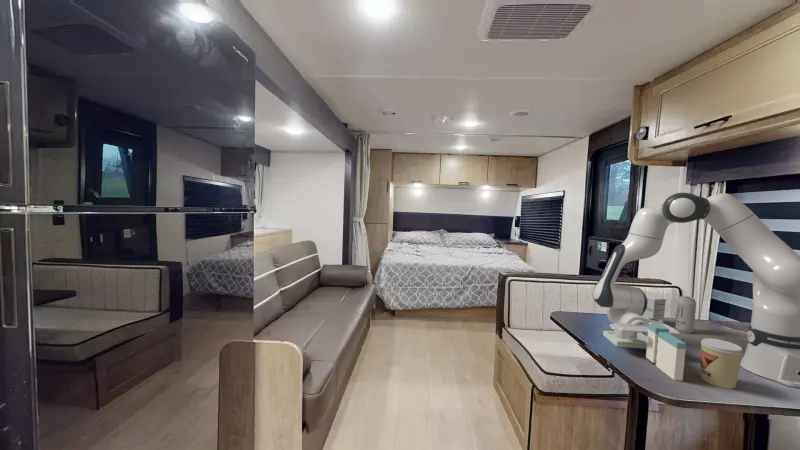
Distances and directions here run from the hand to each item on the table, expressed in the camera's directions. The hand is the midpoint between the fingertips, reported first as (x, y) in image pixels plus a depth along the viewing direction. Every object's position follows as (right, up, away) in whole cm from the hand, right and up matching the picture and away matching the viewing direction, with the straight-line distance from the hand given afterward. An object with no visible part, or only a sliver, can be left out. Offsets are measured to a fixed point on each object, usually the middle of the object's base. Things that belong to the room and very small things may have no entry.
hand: (659, 341), depth 111 cm
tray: (+1, -7, +18) cm, 19 cm away
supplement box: (+27, -6, +40) cm, 49 cm away
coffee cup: (+10, -9, -10) cm, 17 cm away
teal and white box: (-1, -8, -5) cm, 10 cm away
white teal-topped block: (0, -7, +1) cm, 7 cm away
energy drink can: (+36, -7, +32) cm, 48 cm away
